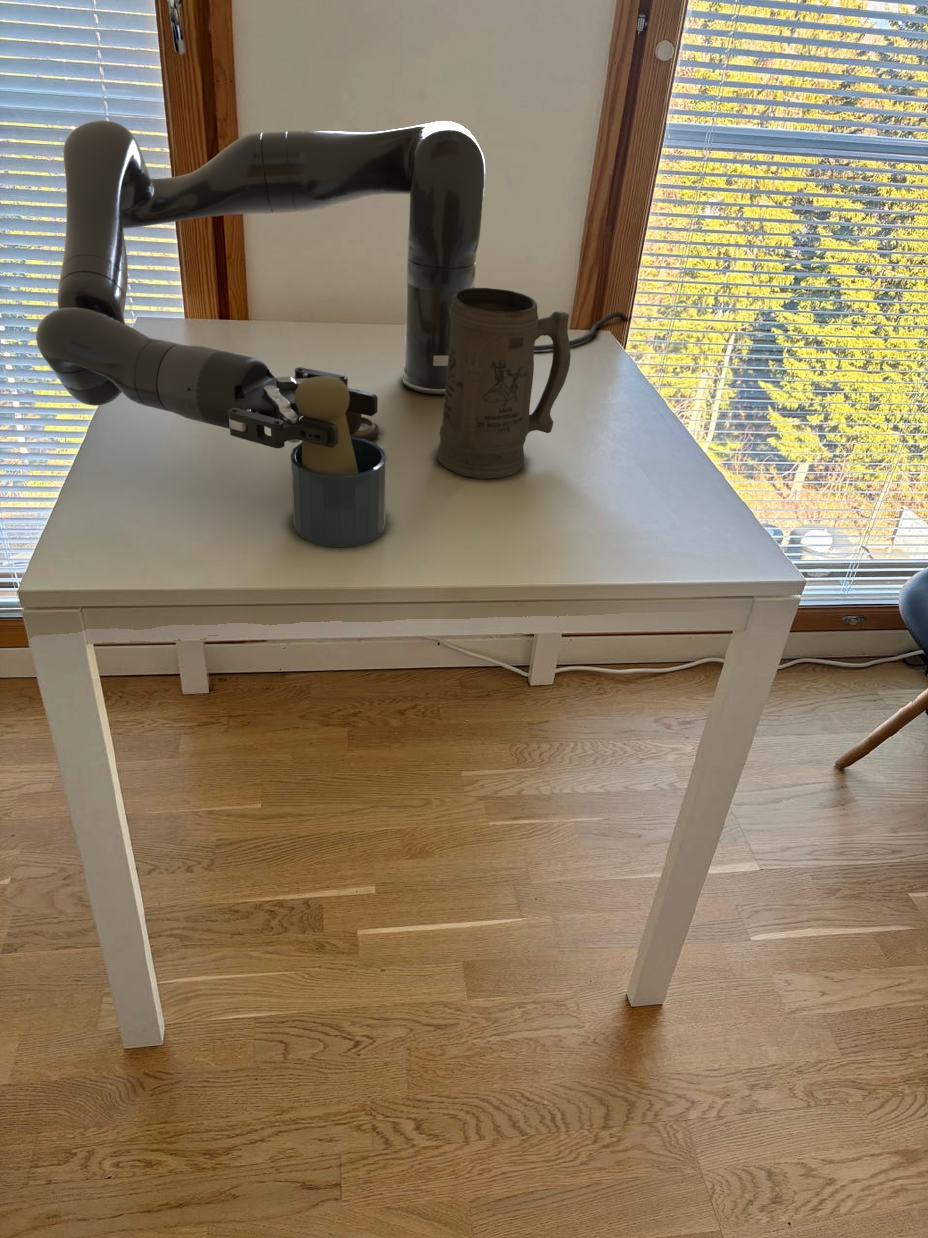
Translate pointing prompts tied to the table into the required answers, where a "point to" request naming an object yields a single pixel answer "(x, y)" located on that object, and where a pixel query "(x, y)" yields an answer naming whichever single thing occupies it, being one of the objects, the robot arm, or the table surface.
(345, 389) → the cork
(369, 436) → the compass
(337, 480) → the tumbler
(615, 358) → the table surface
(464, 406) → the beer stein
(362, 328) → the table surface
